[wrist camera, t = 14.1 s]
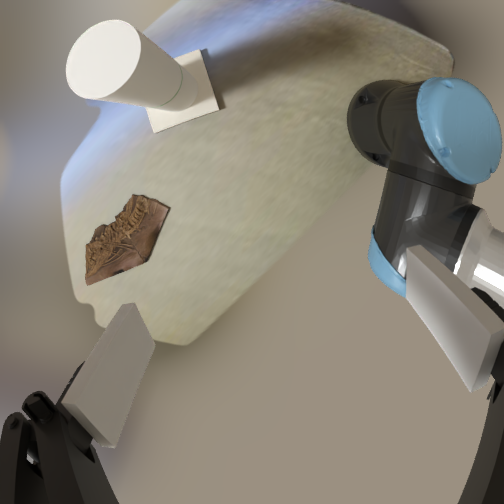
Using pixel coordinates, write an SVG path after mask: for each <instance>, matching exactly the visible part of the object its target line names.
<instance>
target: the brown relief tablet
mask: <svg viewBox="0 0 504 504" xmlns="http://www.w3.org/2000/svg"><path fill="white" fill-rule="evenodd" d="M169 208H170V207H167V206H166V205H164V204H162V203H160V202H159V201H158V200H156V199H148V198H146V197H144V196H143V195H140V196H136V195H132V197H131V198H130V199H129V201H128V203H127V204H126V205H125V206H124V208H123V211H122V212H121V213H119V214H118V215H117V216H115V218H116V221H115V222H113V223H111V224H109V225H108V226H105V225H101V226H99V227H98V228H97V229H95V232H94V235H93V237H92V240H91V241H90V243H89V244H86V274H85V280H86V284H87V286H88V285H91V284H93V283H96V282H98V281H101V280H103V279H106V278H108V277H111V276H114V275H116V274H119V273H122V272H124V271H127V270H129V269H131V268H134V267H135V266H139V265H141V264H143V263H145V262H147V260H148V256H149V254H150V251H151V249H152V247H153V244H154V242H155V239H156V237H157V235H158V232H159V230H160V228H161V225H162V222H163V221H164V218H165V216H166V213H167V211H168V209H169ZM143 259H144V261H145V262H144V261H143Z"/></svg>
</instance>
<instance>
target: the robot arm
mask: <svg viewBox="0 0 504 504" xmlns="http://www.w3.org/2000/svg"><path fill="white" fill-rule="evenodd" d="M347 126H348V131H349V135H350V137H351V140H352V142H353V144H354V145H355V147H356V148H357V150H358V151H359V152H360V153H361V155H363V156H364V157H365V158H366V159H367V160H369V161H370V162H372V163H374V164H376V165H379V166H382V167H386V168H388V170H387V175H386V180H385V184H384V188H383V193H382V197H381V201H380V205H379V209H378V213H377V217H376V221H375V224H374V225H373V228H372V231H371V235H372V238H371V242H370V246H369V250H368V259H369V262H370V266H371V268H372V270H373V272H374V273H375V275H376V276H377V277H378V278H379V279H380V280H381V281H382V282H383V283H384V284H385V285H386V286H388V287H389V288H390V289H392V290H393V291H394V292H396V293H398V294H399V295H401V296H403V297H405V298H406V299H407V300H408V302H409V303H410V304H411V306H412V307H413V308H414V310H415V311H416V312H417V314H418V315H419V316H420V318H421V319H422V321H423V322H424V323H425V325H426V326H427V328H428V329H429V330H430V332H431V333H432V335H433V336H434V338H435V339H436V340H437V342H438V343H439V345H440V346H441V348H442V349H443V351H444V352H445V354H446V355H447V357H448V358H449V360H450V361H451V363H452V364H453V366H454V368H455V369H456V371H457V372H458V374H459V375H460V377H461V378H462V380H463V382H464V383H465V385H466V387H467V388H468V390H469V392H470V393H471V392H473V391H475V390H477V389H479V388H481V387H483V386H485V385H486V383H487V381H488V379H489V377H490V374H492V376H493V378H494V379H495V382H494V384H493V386H492V388H491V390H490V392H489V394H488V397H487V399H489V398H490V396H491V398H490V403H489V408H488V413H487V417H486V422H485V426H484V430H483V433H482V437H481V441H480V444H479V448H478V451H477V454H476V457H475V460H474V463H473V466H472V469H471V472H470V475H469V478H468V480H467V483H466V485H465V488H464V490H463V493H462V495H461V498H460V500H459V502H458V504H504V233H503V232H501V231H499V230H497V229H495V228H494V227H493V226H492V225H491V223H490V220H489V218H488V216H487V213H486V211H485V210H484V209H482V208H480V207H478V206H475V205H473V204H472V200H473V197H474V192H475V188H476V184H478V183H481V182H484V181H486V180H488V179H489V178H490V173H494V172H495V171H496V169H497V167H498V165H499V161H500V158H501V153H502V137H501V129H500V125H499V121H498V118H497V116H496V114H495V113H494V112H493V109H492V106H491V104H490V102H489V101H488V99H487V98H486V97H485V95H484V94H483V93H482V92H481V91H480V90H479V89H478V88H476V87H475V86H474V85H472V84H471V83H469V82H467V81H465V80H463V79H459V78H442V77H438V78H437V77H434V78H430V79H428V80H425V81H421V82H416V83H412V84H408V85H405V84H402V83H400V82H397V81H392V80H380V81H375V82H372V83H370V84H367V85H365V86H364V87H362V88H361V89H360V90H359V91H358V92H357V93H356V94H355V95H354V97H353V98H352V100H351V102H350V105H349V108H348V113H347ZM154 348H155V343H154V341H153V339H152V337H151V335H150V333H149V331H148V329H147V327H146V325H145V323H144V321H143V319H142V317H141V315H140V313H139V311H138V309H137V306H136V304H135V303H129V304H123V305H122V306H121V307H120V309H119V310H118V312H117V313H116V315H115V316H114V318H113V319H112V321H111V322H110V324H109V325H108V327H107V328H106V330H105V331H104V333H103V334H102V336H101V337H100V339H99V340H98V342H97V344H96V345H95V347H94V348H93V350H92V352H91V353H90V355H89V356H88V358H87V359H86V361H84V362H83V363H82V364H81V365H80V366H79V367H78V368H77V370H76V371H75V373H74V375H73V378H71V379H70V381H69V384H68V385H67V386H66V388H65V390H64V391H63V393H62V395H61V396H60V398H59V400H58V402H57V403H56V405H54V403H53V402H52V401H51V400H50V399H49V397H48V396H47V395H46V394H45V393H44V392H42V391H37V392H34V393H32V394H31V395H29V396H28V397H27V398H26V399H25V401H24V403H23V405H22V410H23V411H24V412H25V413H26V414H27V415H28V416H29V418H30V419H31V420H27V419H26V418H25V417H24V415H23V414H22V413H20V412H15V413H13V414H11V415H10V416H8V417H7V419H6V420H5V423H4V425H3V430H2V435H1V440H0V504H119V503H118V501H117V499H116V497H115V495H114V493H113V490H112V488H111V486H110V484H109V482H108V479H107V477H106V475H105V472H104V470H103V468H102V465H101V463H100V460H99V458H98V456H97V453H96V450H95V448H94V447H93V446H92V445H91V441H92V439H93V438H94V439H95V440H96V441H97V442H98V443H99V444H100V445H101V446H104V447H112V448H116V446H117V443H118V440H119V438H120V435H121V432H122V429H123V427H124V423H125V421H126V419H127V416H128V413H129V410H130V408H131V405H132V403H133V400H134V398H135V395H136V392H137V390H138V387H139V385H140V382H141V380H142V377H143V375H144V372H145V370H146V367H147V365H148V363H149V360H150V358H151V355H152V353H153V351H154ZM27 454H28V455H29V456H30V457H31V458H33V459H34V461H33V464H31V463H30V462H29V461H28V460H27Z"/></svg>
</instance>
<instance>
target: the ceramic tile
mask: <svg viewBox="0 0 504 504" xmlns="http://www.w3.org/2000/svg"><path fill="white" fill-rule="evenodd" d="M174 60H175V61H177V62H178V63H179V64H180V65H181V66H183V67H184V68H185V69H186V70H187V71H188V72H189V73H191V74H192V75H193V76H194V77H195V79H196V81H197V84H198V94H197V97H196V99H195V101H194V102H193V103H192V105H190V106H189V107H188V108H186V109H185V110H182V111H179V112H169V111H164V110H159V109H153V108H148V107H146V110H147V113H148V116H149V119H150V123H151V126H152V129H153V132H154V133H158V132H161V131H163V130H166V129H168V128H171V127H173V126H176V125H179V124H181V123H184V122H187V121H189V120H192V119H195V118H198V117H201V116H204V115H207V114H210V113H213V112H216V111H219V107H218V103H217V100H216V97H215V94H214V91H213V88H212V85H211V82H210V79H209V76H208V73H207V69H206V66H205V63H204V60H203V57H202V54H201V51H200V50H196V51H193V52H190V53H187V54H184V55H182V56H179V57H177V58H174Z"/></svg>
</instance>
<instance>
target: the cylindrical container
mask: <svg viewBox="0 0 504 504" xmlns="http://www.w3.org/2000/svg"><path fill="white" fill-rule="evenodd" d="M66 76H67V81H68V83H69V85H70V88H71V89H72V90H73V91H74V92H75V93H76V94H77V95H79V96H81V97H83V98H87V99H94V100H102V101H110V102H117V103H124V104H130V105H136V106H142V107H148V108H153V109H159V110H164V111H169V112H179V111H182V110H185V109H186V108H188V107H189V106H190V105H192V103H193V102H194V101H195V99H196V97H197V94H198V84H197V81H196V79H195V77H194V76H193V75H192V74H191V73H189V72H188V71H187V70H186V69H185V68H184V67H183V66H181V65H180V64H179V63H178V62H177V61H175V60H174V59H173V58H172V57H171V56H169V55H168V54H167V53H166V52H165V51H163V50H162V49H161V48H160V47H159V46H157V45H156V44H155V43H154V42H152V41H151V40H150V39H149V38H147V37H146V36H145V35H144V34H142V33H141V32H140V31H138V30H137V29H135V28H134V27H133V26H132V25H130V24H129V23H127V22H124V21H121V20H108V21H104V22H101V23H98V24H96V25H94V26H92V27H91V28H89V29H88V30H87V31H85V32H84V33H83V34H82V35H81V36H80V37H79V38H78V40H77V41H76V43H75V44H74V45H73V47H72V49H71V51H70V53H69V57H68V59H67V65H66Z"/></svg>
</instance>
